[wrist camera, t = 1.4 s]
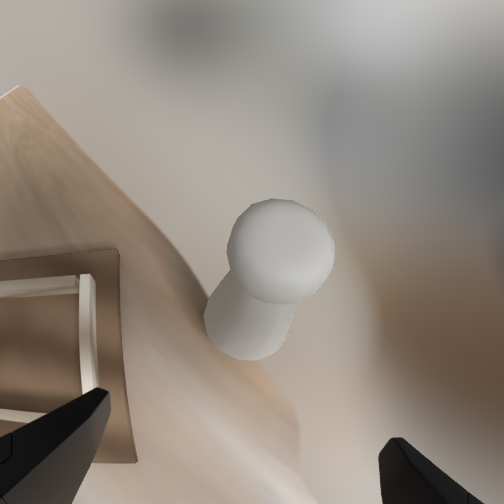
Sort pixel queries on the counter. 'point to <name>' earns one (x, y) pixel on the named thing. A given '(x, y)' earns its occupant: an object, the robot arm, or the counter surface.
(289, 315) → the salt shaker
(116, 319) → the collar board
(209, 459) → the counter surface
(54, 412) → the robot arm
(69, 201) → the counter surface
